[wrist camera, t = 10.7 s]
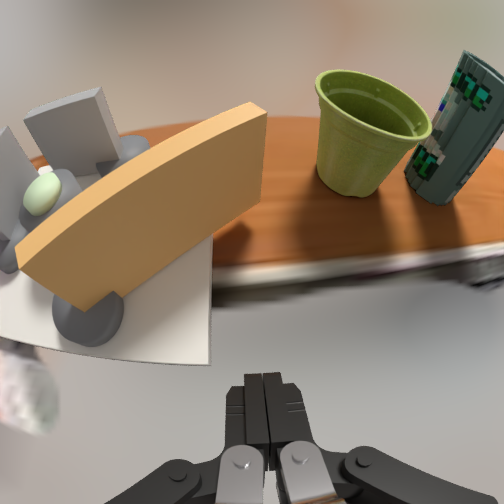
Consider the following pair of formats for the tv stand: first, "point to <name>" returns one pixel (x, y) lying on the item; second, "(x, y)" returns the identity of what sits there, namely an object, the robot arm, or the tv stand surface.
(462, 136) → the can
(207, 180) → the tan upright panel
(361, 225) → the tv stand surface
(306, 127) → the tv stand surface
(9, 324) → the plate
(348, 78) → the plant pot
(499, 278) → the tv stand surface
